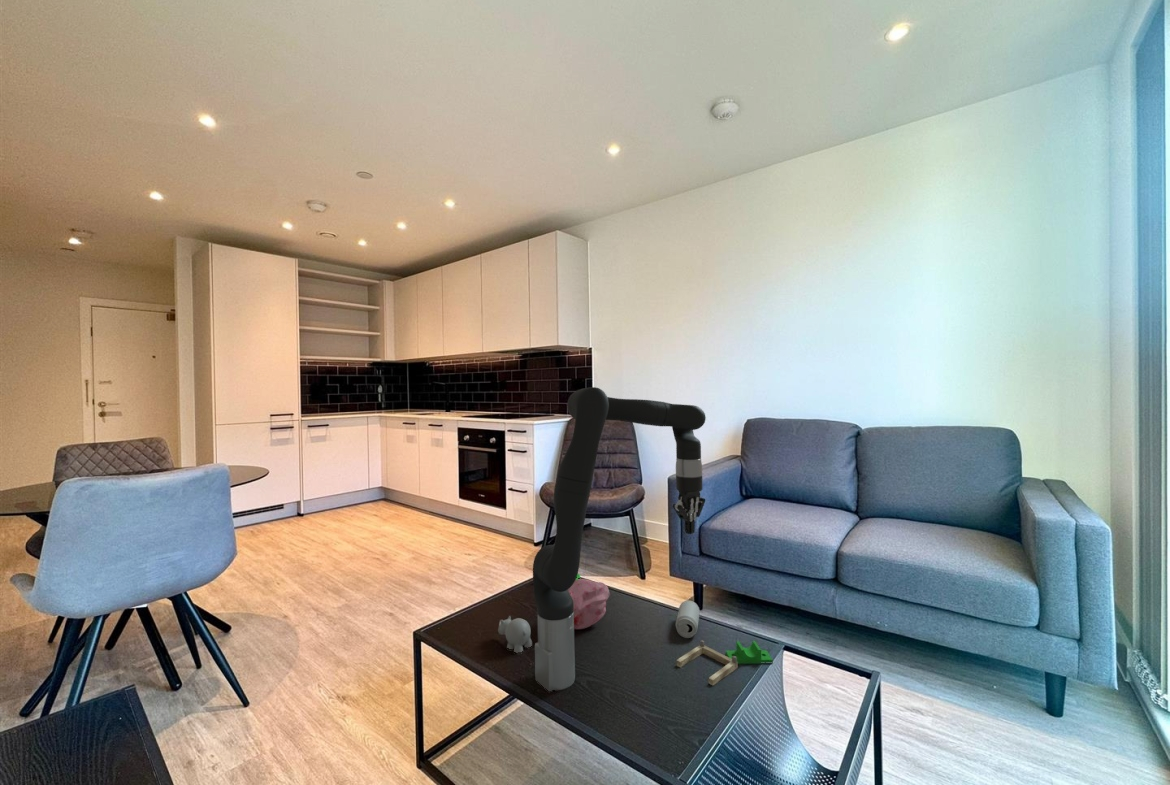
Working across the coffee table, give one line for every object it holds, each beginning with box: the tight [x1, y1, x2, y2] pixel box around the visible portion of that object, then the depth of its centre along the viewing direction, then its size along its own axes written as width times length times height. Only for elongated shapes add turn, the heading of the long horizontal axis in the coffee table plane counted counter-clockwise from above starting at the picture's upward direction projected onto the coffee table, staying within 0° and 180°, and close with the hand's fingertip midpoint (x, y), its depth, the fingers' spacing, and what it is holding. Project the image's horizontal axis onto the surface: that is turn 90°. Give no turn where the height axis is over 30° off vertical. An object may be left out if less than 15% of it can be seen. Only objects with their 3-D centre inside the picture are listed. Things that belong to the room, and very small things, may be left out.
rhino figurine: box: [497, 615, 533, 653], centre depth 131 cm, size 7×12×8 cm, turn 48°
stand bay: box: [676, 639, 739, 686], centre depth 119 cm, size 11×11×3 cm
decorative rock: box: [568, 578, 610, 630], centre depth 142 cm, size 19×14×15 cm
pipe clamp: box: [725, 640, 774, 664], centre depth 122 cm, size 11×4×5 cm
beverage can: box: [675, 600, 701, 639], centre depth 139 cm, size 6×6×12 cm
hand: (690, 533), depth 131 cm, fingers closed
